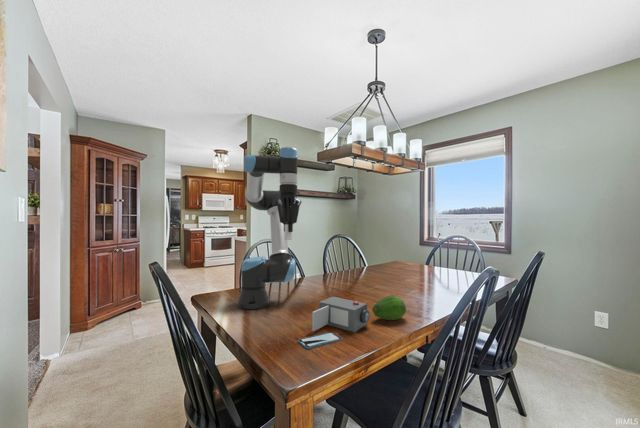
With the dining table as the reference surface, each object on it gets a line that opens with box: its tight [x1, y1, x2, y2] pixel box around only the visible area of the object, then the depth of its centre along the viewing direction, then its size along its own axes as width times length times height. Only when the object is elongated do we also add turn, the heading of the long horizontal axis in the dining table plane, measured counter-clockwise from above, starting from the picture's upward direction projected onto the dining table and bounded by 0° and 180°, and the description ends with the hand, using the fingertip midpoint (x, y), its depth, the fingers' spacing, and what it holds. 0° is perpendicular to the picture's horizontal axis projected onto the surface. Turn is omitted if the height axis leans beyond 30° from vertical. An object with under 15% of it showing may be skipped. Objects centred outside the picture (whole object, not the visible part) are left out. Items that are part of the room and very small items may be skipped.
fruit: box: [371, 295, 407, 321], centre depth 120 cm, size 15×10×10 cm, turn 107°
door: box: [311, 305, 329, 332], centre depth 110 cm, size 10×2×7 cm, turn 142°
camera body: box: [318, 296, 370, 333], centre depth 116 cm, size 19×10×9 cm, turn 53°
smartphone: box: [297, 331, 343, 350], centre depth 100 cm, size 7×1×15 cm
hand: (288, 239), depth 120 cm, fingers closed
